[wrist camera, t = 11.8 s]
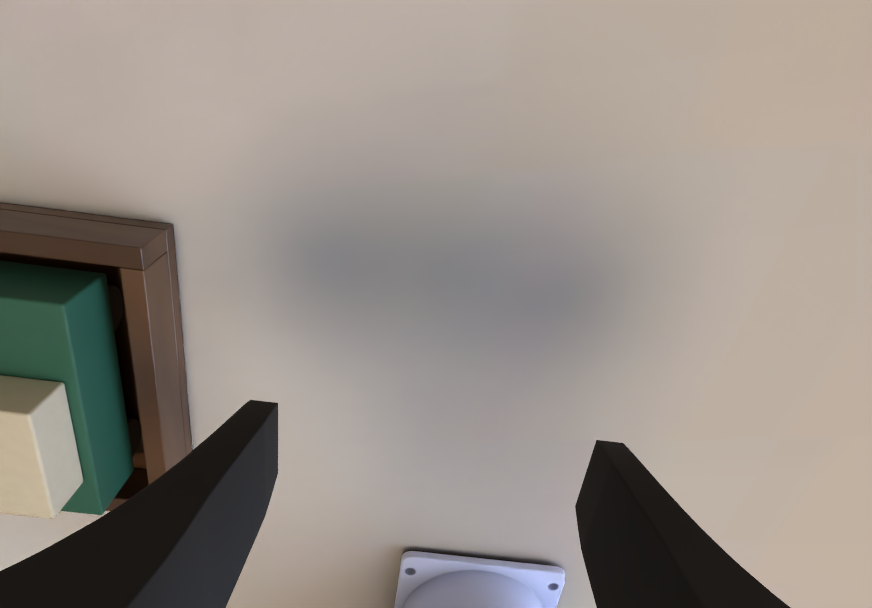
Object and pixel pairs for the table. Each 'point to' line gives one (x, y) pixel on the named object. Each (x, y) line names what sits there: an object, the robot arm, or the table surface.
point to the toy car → (61, 392)
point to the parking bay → (123, 317)
